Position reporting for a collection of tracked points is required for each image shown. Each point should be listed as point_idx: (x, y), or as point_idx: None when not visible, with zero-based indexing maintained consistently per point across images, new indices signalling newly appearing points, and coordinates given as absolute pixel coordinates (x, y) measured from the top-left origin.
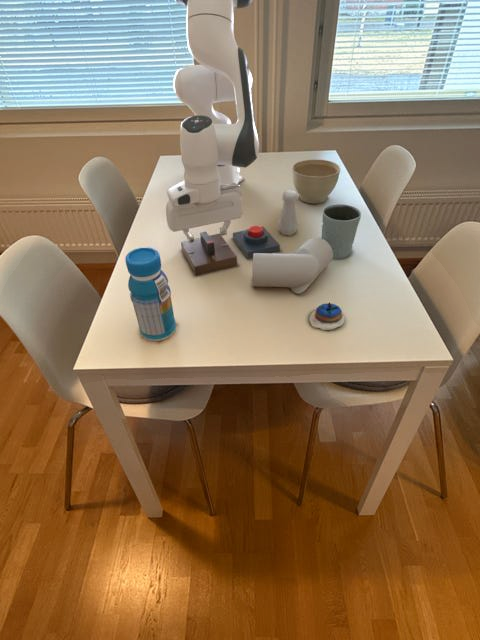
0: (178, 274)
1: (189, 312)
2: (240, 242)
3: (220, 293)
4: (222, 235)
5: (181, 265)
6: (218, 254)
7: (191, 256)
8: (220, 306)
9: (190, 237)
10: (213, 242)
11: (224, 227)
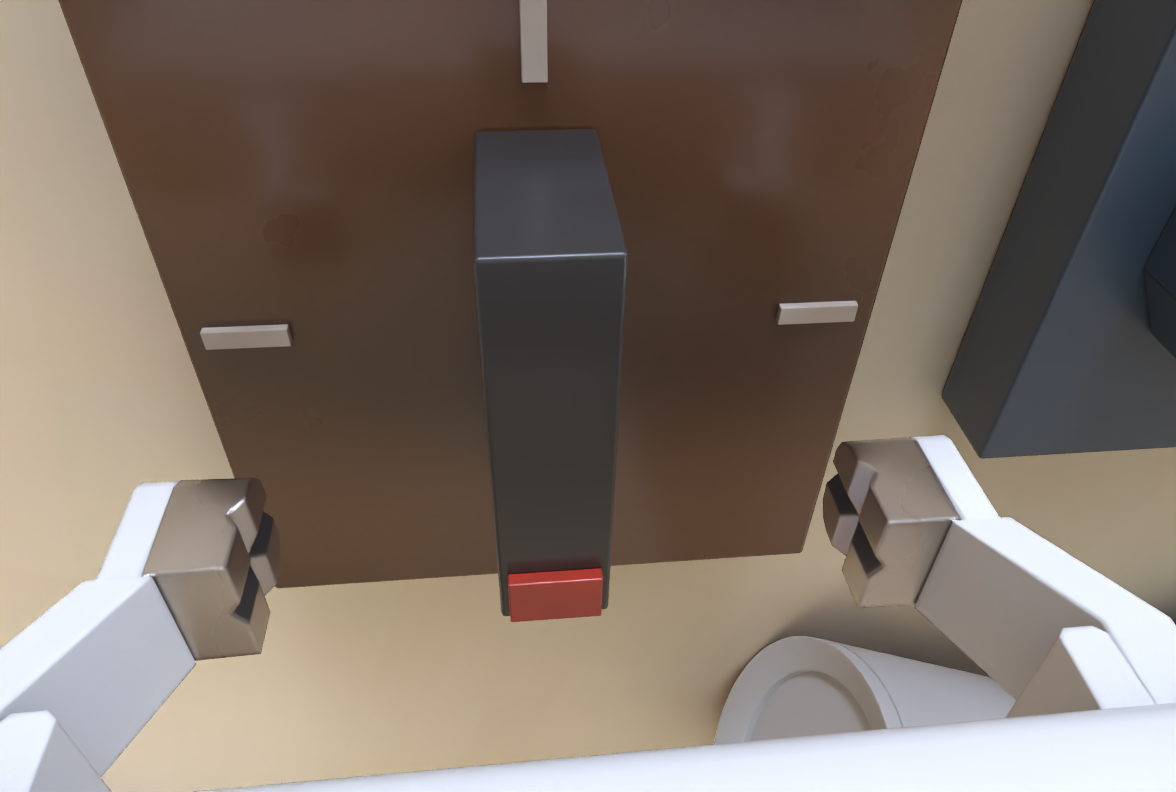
0: (84, 417)
1: (210, 769)
2: (1087, 237)
3: (472, 686)
4: (832, 516)
5: (112, 264)
6: (631, 469)
7: (248, 419)
8: (434, 761)
9: (192, 654)
10: (608, 591)
11: (954, 599)
